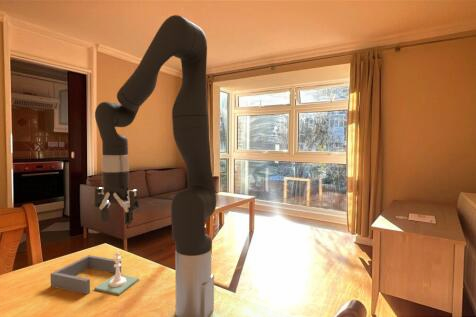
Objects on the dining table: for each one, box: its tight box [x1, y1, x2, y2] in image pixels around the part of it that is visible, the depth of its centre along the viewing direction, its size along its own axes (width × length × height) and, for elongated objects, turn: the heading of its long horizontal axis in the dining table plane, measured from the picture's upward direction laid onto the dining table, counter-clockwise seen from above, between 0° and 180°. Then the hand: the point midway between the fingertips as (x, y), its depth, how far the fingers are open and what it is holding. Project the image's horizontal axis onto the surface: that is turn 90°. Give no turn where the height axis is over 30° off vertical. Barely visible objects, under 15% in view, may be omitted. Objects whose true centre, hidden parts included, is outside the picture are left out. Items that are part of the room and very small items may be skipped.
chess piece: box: [109, 251, 126, 287], centre depth 85 cm, size 5×5×10 cm
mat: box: [94, 274, 140, 296], centre depth 85 cm, size 9×9×1 cm
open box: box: [50, 254, 122, 295], centre depth 89 cm, size 14×14×4 cm
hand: (116, 222), depth 84 cm, fingers open, 8 cm apart
